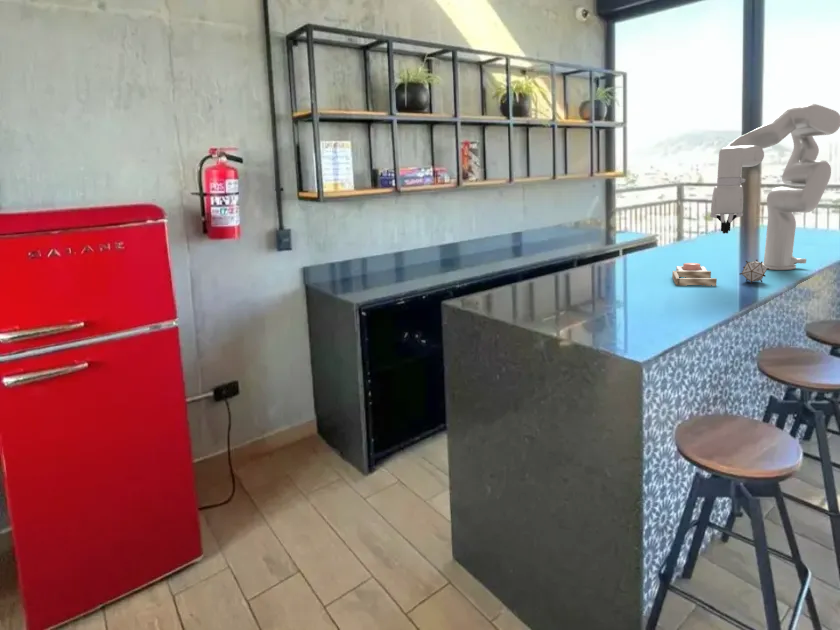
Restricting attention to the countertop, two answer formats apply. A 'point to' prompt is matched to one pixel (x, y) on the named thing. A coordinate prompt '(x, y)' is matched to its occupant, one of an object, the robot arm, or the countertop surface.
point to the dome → (691, 266)
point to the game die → (754, 271)
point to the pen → (694, 278)
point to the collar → (680, 268)
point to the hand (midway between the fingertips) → (725, 232)
